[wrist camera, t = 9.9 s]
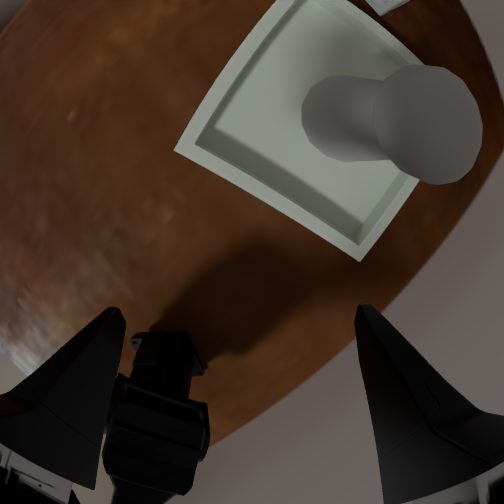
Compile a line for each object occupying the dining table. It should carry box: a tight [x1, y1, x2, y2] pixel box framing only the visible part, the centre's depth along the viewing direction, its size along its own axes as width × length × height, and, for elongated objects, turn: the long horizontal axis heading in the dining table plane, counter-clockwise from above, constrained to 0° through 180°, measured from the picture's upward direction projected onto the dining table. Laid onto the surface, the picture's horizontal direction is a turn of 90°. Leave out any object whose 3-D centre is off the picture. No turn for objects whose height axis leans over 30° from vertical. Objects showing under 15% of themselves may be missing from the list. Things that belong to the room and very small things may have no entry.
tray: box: [174, 0, 424, 262], centre depth 18 cm, size 16×16×2 cm
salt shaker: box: [301, 64, 483, 185], centre depth 12 cm, size 6×6×13 cm
